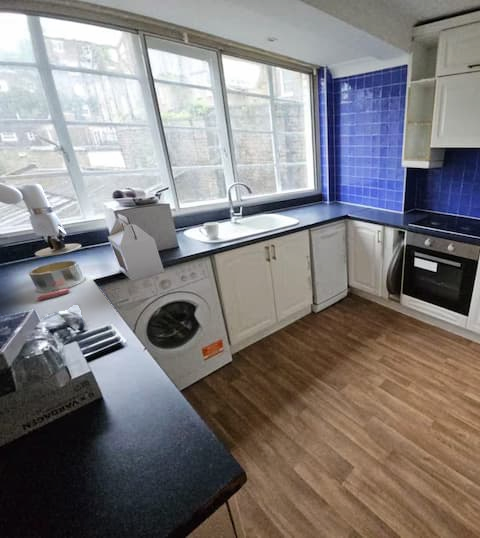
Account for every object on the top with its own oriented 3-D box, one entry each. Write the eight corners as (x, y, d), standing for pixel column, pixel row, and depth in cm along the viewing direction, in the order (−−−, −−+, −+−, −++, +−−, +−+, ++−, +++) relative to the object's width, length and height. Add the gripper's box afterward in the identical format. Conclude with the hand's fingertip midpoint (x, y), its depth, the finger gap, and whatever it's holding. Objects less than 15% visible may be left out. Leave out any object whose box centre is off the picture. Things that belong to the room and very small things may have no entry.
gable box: (120, 270, 147) (99, 215, 136) (150, 262, 157) (132, 210, 146) (132, 281, 134) (110, 221, 123) (164, 272, 143) (146, 215, 132)
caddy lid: (25, 258, 137) (18, 244, 134) (57, 246, 152) (51, 234, 149) (62, 256, 138) (56, 242, 135) (90, 245, 153) (85, 232, 150)
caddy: (27, 293, 126) (17, 275, 123) (58, 278, 141) (51, 261, 137) (64, 291, 127) (56, 273, 124) (92, 276, 141) (85, 259, 138)
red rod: (37, 300, 118) (35, 296, 118) (38, 301, 120) (35, 296, 119) (70, 291, 125) (68, 287, 125) (70, 292, 126) (68, 288, 126)
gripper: (14, 213, 133) (33, 251, 140) (52, 212, 134) (69, 250, 141) (30, 210, 140) (48, 246, 147) (66, 208, 141) (81, 245, 148)
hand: (58, 248), depth 144 cm, fingers closed on caddy lid, 3 cm apart
